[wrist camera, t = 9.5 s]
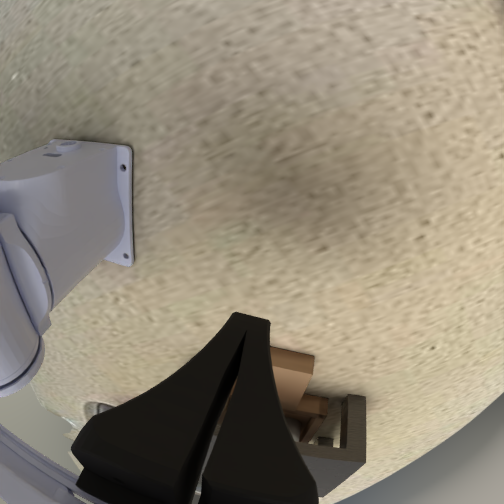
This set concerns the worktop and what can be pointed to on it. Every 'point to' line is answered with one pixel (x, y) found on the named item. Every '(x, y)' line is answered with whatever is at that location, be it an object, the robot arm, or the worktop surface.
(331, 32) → the worktop surface
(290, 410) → the tray
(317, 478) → the riser
